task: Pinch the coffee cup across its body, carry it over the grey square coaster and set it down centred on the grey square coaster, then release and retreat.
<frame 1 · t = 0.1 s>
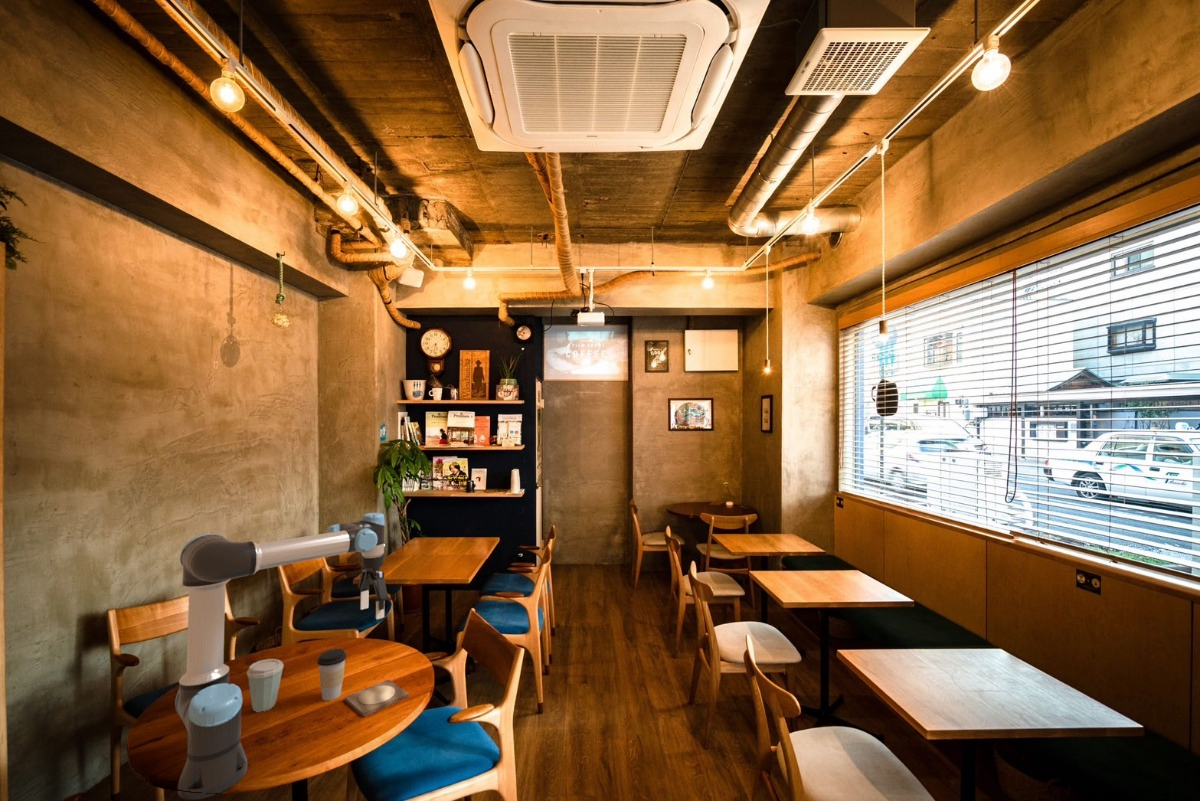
hand: (372, 613, 184), 28 cm above the table, fingers open, 13 cm apart
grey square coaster: (376, 698, 177), on the table
disposable coffee cup: (264, 708, 172), on the table
coffee cup: (331, 696, 179), on the table
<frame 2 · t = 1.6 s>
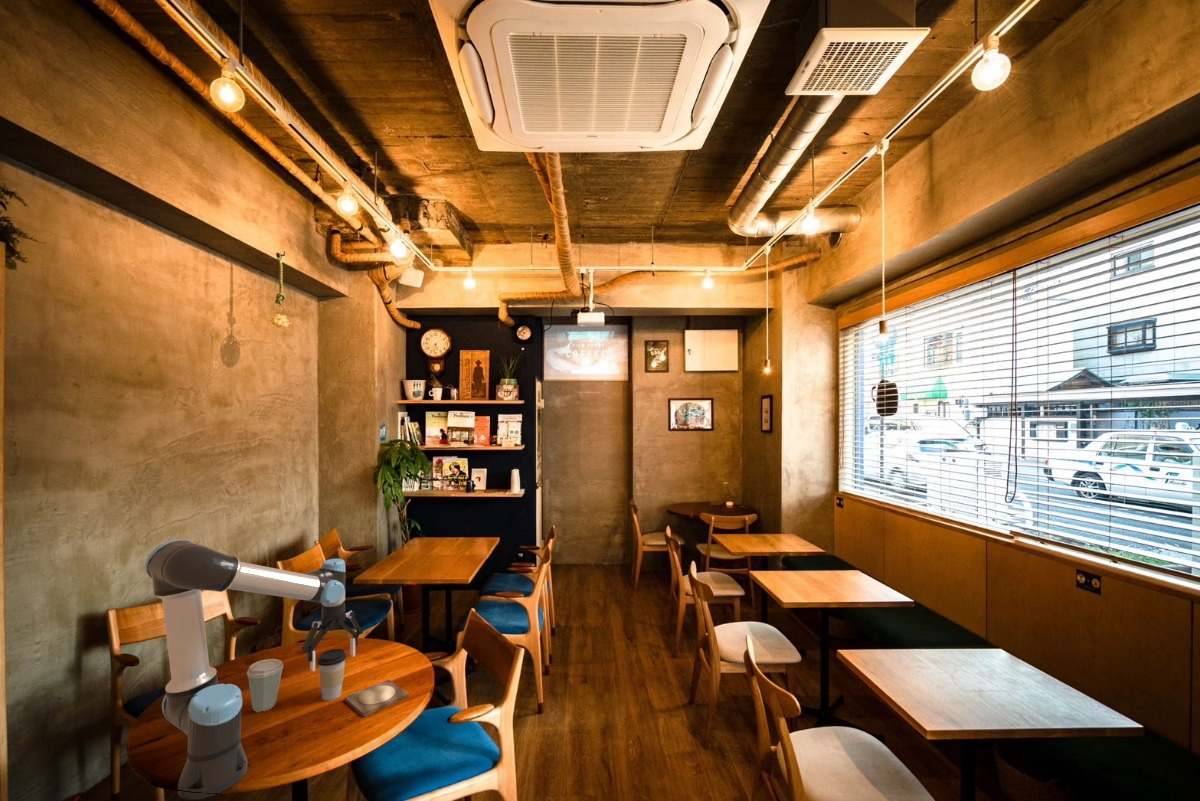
hand: (333, 662, 179), 12 cm above the table, fingers open, 13 cm apart
nothing on the table moved.
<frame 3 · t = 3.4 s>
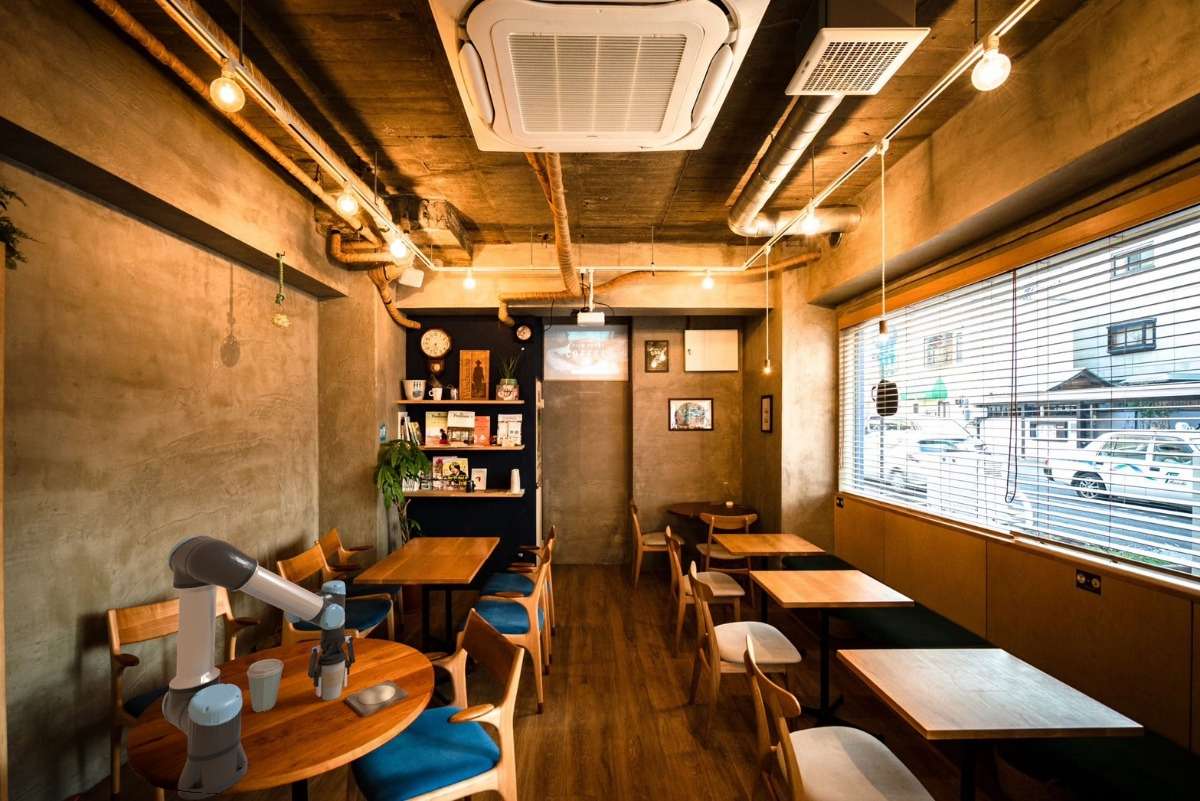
hand: (331, 689, 179), 2 cm above the table, fingers closed on coffee cup, 8 cm apart
coffee cup: (331, 696, 179), on the table, touching gripper
everything else where it was.
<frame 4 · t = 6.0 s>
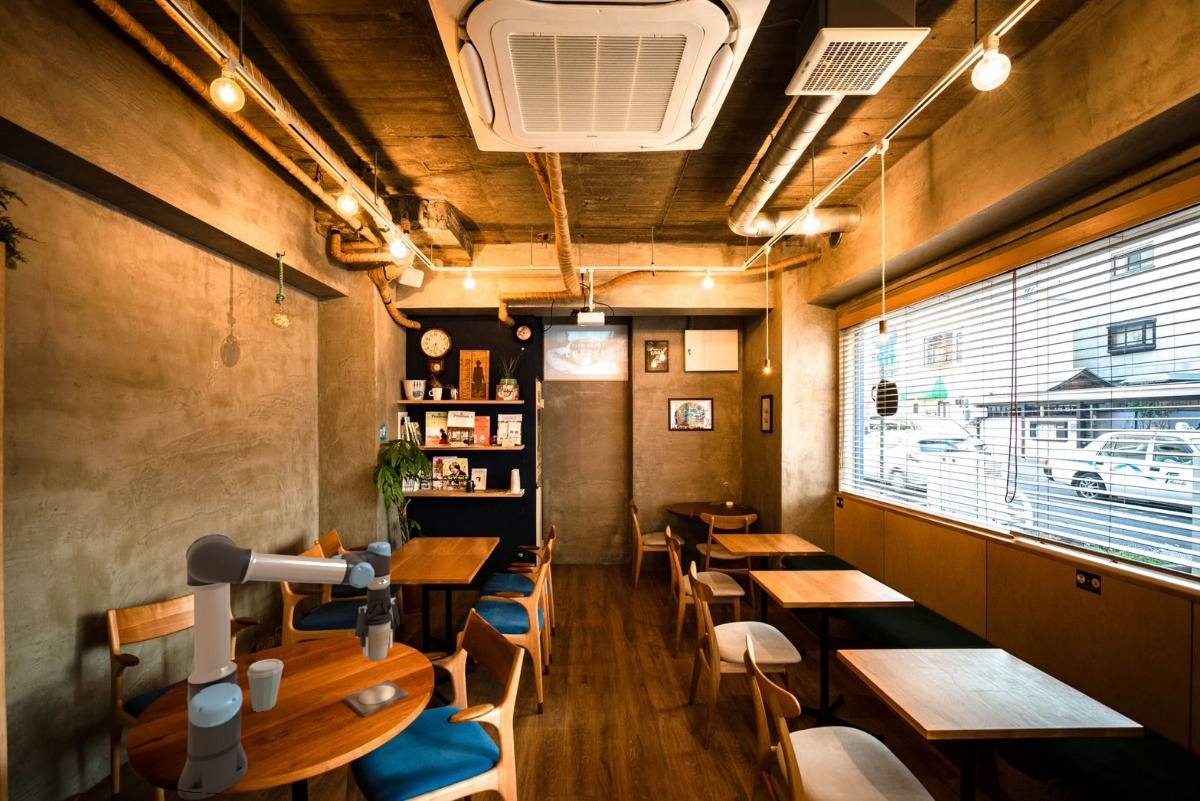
hand: (377, 650, 178), 17 cm above the table, fingers closed on coffee cup, 8 cm apart
coffee cup: (377, 657, 178), point 14 cm above the table, touching gripper
everything else where it was.
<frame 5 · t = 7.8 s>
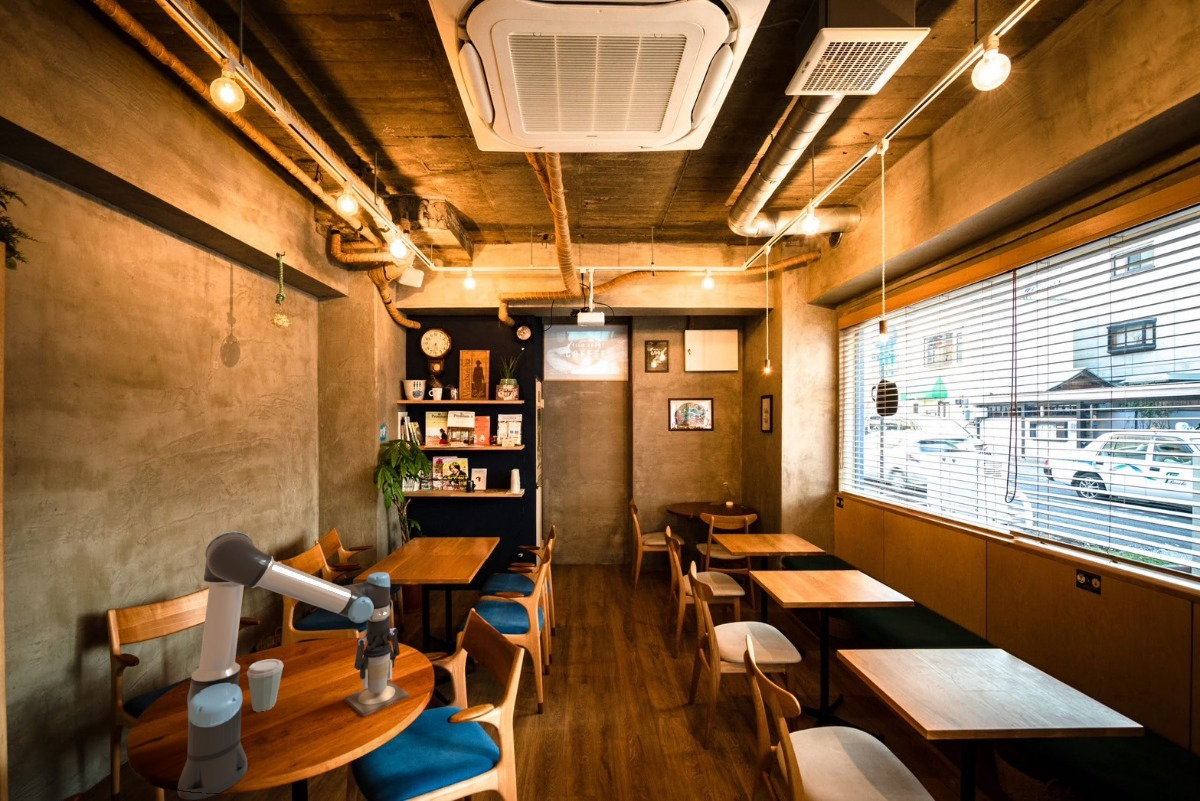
hand: (377, 682, 177), 6 cm above the table, fingers closed on coffee cup, 8 cm apart
coffee cup: (377, 689, 177), point 3 cm above the table, touching gripper
everything else where it was.
when the fingers open (5 cm above the table, at t = 8.9 s): coffee cup stays where it is, resting on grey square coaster.
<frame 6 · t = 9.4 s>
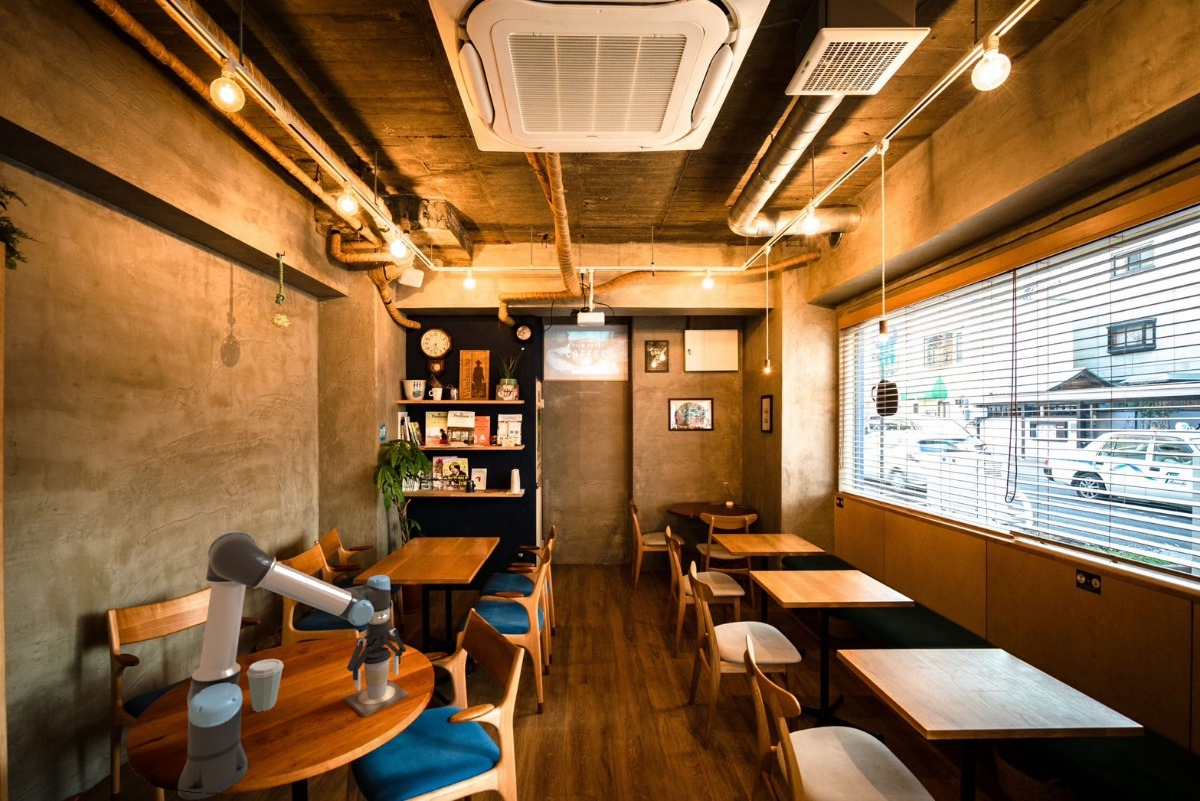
hand: (377, 681, 177), 6 cm above the table, fingers open, 13 cm apart
coffee cup: (376, 695, 177), point 1 cm above the table, touching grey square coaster
everything else where it was.
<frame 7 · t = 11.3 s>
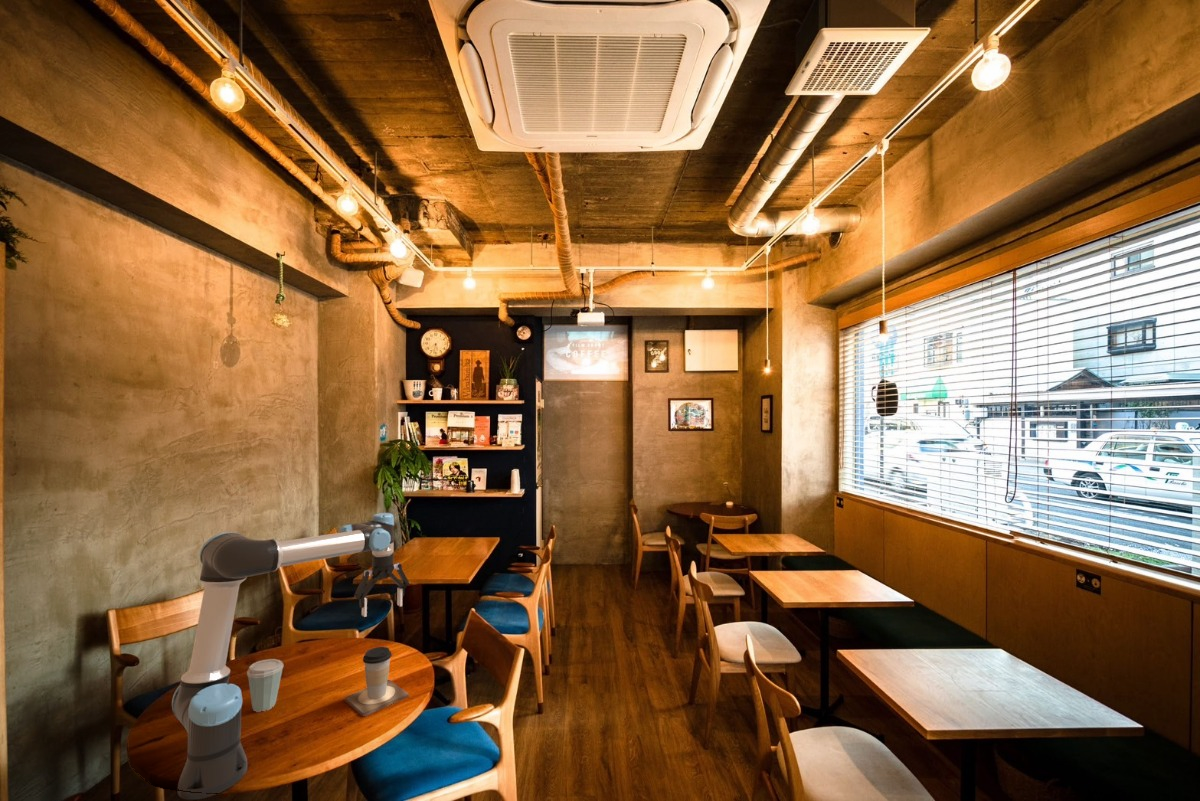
hand: (382, 610, 189), 27 cm above the table, fingers open, 13 cm apart
nothing on the table moved.
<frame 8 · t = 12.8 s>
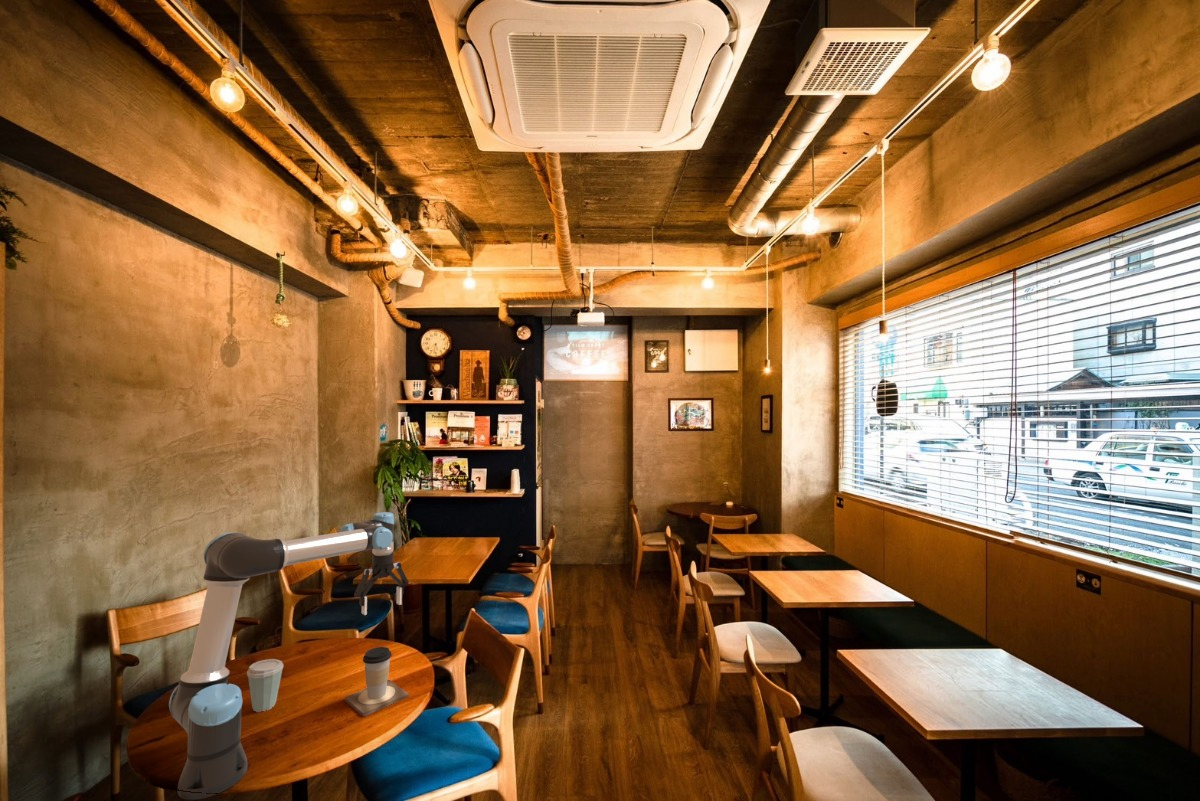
hand: (382, 608, 191), 27 cm above the table, fingers open, 13 cm apart
nothing on the table moved.
at the end: coffee cup 0.1 cm from the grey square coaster (horizontally); coffee cup tilted 0°; coffee cup touching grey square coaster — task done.
